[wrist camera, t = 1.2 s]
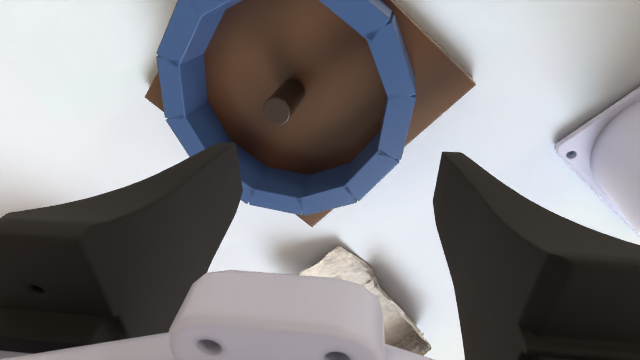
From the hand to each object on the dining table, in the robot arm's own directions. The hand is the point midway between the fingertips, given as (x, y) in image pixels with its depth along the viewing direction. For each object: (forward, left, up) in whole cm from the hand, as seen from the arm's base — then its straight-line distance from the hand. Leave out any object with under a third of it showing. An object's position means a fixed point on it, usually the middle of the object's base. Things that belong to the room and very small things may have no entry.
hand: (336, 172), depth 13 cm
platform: (+3, +3, -12) cm, 13 cm away
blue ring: (+3, +3, -11) cm, 12 cm away
